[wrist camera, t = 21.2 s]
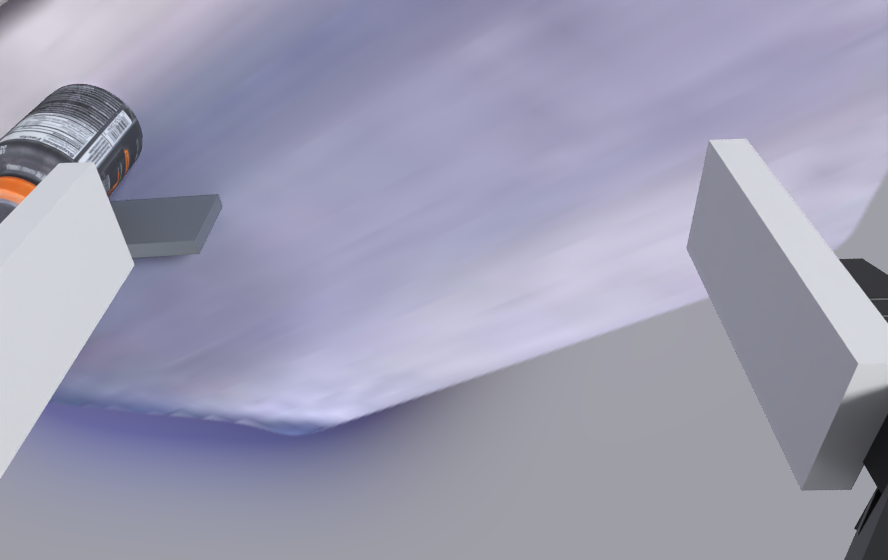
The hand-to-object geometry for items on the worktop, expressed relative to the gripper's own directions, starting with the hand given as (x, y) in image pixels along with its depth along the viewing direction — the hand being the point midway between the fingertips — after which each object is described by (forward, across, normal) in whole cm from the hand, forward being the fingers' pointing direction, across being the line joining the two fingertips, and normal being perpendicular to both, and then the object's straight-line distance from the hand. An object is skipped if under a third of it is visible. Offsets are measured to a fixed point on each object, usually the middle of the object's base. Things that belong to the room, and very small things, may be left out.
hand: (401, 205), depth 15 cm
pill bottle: (+27, -22, -10) cm, 36 cm away
